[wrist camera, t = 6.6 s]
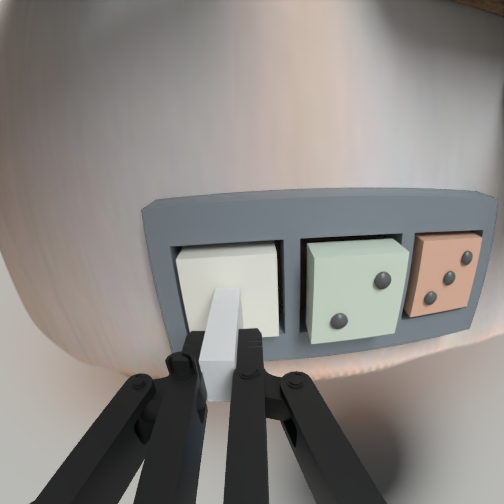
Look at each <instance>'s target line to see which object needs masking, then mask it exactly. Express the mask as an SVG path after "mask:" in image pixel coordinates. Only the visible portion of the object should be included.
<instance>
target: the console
mask: <svg viewBox="0 0 504 504" xmlns="http://www.w3.org/2000/svg"><path fill="white" fill-rule="evenodd" d="M497 207H498V199H497V198H494V197H491V196H488V195H486V194H483V193H480V192H477V191H465V190H446V189H420V188H319V189H290V190H270V191H252V192H237V193H224V194H211V195H200V196H189V197H178V198H169V199H160V200H155V201H153V202H152V203H150V204H149V205H147V206H146V207H144V208H143V209H141V212H142V218H143V224H144V230H145V236H146V242H147V247H148V252H149V257H150V263H151V267H152V272H153V277H154V282H155V286H156V291H157V295H158V299H159V304H160V308H161V312H162V316H163V320H164V324H165V328H166V331H167V335H168V339H169V343H170V346H171V350H172V353H175V352H181V351H182V349H183V345H184V342H185V339H186V336H187V335H188V334H189V333H190V331H189V326H188V321H187V316H186V312H185V307H184V302H183V297H182V291H181V286H180V281H179V275H178V269H177V264H176V258H177V257H178V255H179V253H180V252H181V250H182V248H183V246H186V245H201V244H216V243H232V242H249V241H265V240H280V261H281V302H282V311H278V314H279V336H275V337H262V344H263V361H272V360H287V359H299V358H309V357H319V356H328V355H336V354H344V353H352V352H359V351H365V350H372V349H378V348H384V347H390V346H395V345H401V344H406V343H411V342H416V341H421V340H425V339H430V338H434V337H439V336H443V335H447V334H451V333H455V332H459V331H463V330H467V329H469V328H470V325H471V323H472V320H473V317H474V313H475V310H476V307H477V304H478V300H479V297H480V293H481V290H482V286H483V282H484V278H485V274H486V270H487V266H488V261H489V257H490V252H491V246H492V241H493V235H494V229H495V222H496V215H497ZM444 231H471V232H473V233H475V234H477V235H478V236H480V237H482V243H481V248H480V253H479V258H478V263H477V268H476V272H475V277H474V281H473V285H472V289H471V292H470V296H469V300H468V303H467V306H466V307H461V308H457V309H452V310H447V311H442V312H436V313H431V314H426V315H420V316H414V317H410V316H409V315H408V314H407V313H406V311H405V310H404V309H403V306H404V301H405V296H406V291H407V286H408V280H409V274H410V267H411V261H412V253H413V246H414V237H415V233H420V232H444ZM377 234H384V239H390V238H393V239H394V240H395V241H397V242H398V243H399V244H400V245H402V246H403V247H404V248H405V249H407V250H408V251H409V259H408V266H407V273H406V279H405V285H404V290H403V296H402V301H401V306H400V311H399V316H398V320H397V325H396V329H395V333H393V334H387V335H380V336H374V337H367V338H360V339H352V340H344V341H336V342H327V343H318V344H311V342H310V338H309V334H308V330H307V327H306V323H305V320H306V310H300V238H318V237H337V236H357V235H377Z"/></svg>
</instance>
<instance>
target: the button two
mask: <svg viewBox="0 0 504 504" xmlns="http://www.w3.org/2000/svg"><path fill="white" fill-rule="evenodd" d="M408 259H409V251H408V250H407V249H405V248H404V247H403V246H402V245H400V244H399V243H398V242H397V241H395V240H394V239H393V238H390V239H371V240H353V241H335V242H317V243H307V282H306V320H305V323H306V327H307V330H308V334H309V338H310V342H311V344H318V343H327V342H336V341H344V340H352V339H360V338H367V337H374V336H380V335H387V334H393V333H395V329H396V325H397V320H398V316H399V311H400V306H401V301H402V296H403V290H404V285H405V279H406V273H407V266H408Z"/></svg>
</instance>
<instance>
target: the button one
mask: <svg viewBox="0 0 504 504" xmlns="http://www.w3.org/2000/svg"><path fill="white" fill-rule="evenodd" d="M176 264H177V269H178V275H179V281H180V286H181V291H182V297H183V302H184V307H185V312H186V316H187V321H188V326H189V331H190V332H191V331H205V330H206V326H207V322H208V317H209V313H210V309H211V304H212V300H213V296H214V292H215V288H236V287H240V293H241V303H242V314H243V324H244V325H243V329H250V328H258V329H259V331H260V332H261V333H262V337H275V336H279V314H278V277H277V252H276V248H275V243H274V240H265V241H249V242H232V243H216V244H201V245H186V246H184V247H183V248H182V250H181V252H180V253H179V255H178V257H177V258H176Z"/></svg>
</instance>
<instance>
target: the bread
mask: <svg viewBox="0 0 504 504" xmlns="http://www.w3.org/2000/svg"><path fill="white" fill-rule="evenodd" d="M454 1H457V2H460V3H464V4H467V5H470V6H473V7H476V8H479V9H483V10H486V11H489V12H492V13H495V14H498V15H501V16H504V0H454Z"/></svg>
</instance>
